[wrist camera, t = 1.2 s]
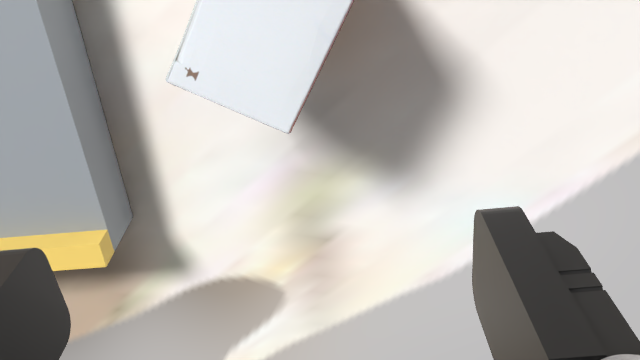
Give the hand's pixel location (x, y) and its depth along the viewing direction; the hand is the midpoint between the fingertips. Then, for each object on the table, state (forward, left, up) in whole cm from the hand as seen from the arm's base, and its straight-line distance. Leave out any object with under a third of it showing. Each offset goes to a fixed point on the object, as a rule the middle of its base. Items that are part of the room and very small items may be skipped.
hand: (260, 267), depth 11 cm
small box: (-1, -1, -24) cm, 24 cm away
